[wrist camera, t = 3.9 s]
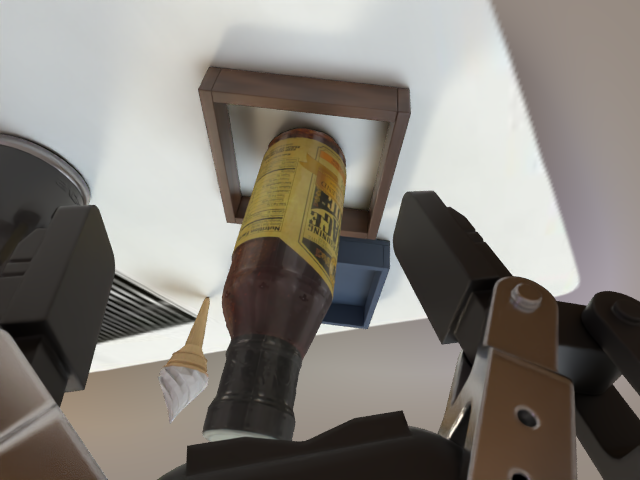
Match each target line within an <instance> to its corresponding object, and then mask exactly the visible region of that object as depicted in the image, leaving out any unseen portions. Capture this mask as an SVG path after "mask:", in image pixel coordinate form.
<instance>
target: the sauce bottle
mask: <svg viewBox="0 0 640 480" xmlns="http://www.w3.org/2000/svg"><path fill="white" fill-rule="evenodd" d="M345 162H346V161H345V157H344V155H343V152H342V150H341V149H340V147H339V146H338V144H336V143H335V141H334V140H333V139H332V138H331V137H330V136H329V135H327V134H325V133H324V132H317V131H315V130H311V129H307V128H297V129H292V130H288V131H286V132H284V133H281V134H280V135H279V136H277V137H275V138H274V139H273V140H272V141H271V142H270V144H269V146H268V151H267V152H266V153H265V155H264V157H263V160H262V163H261V166H260V170H259V173H258V176H257V179H256V182H255V185H254V188H253V192H252V195H251V198H250V201H249V204H248V207H247V210H246V213H245V216H244V220H243V223H242V226H241V229H240V232H239V235H238V238H237V241H236V245H235V248H234V251H233V254H232V264H231V267H230V270H229V273H228V276H227V280H226V282H225V286H224V289H223V295H222V308H223V314H224V317H225V321H226V327H227V328H228V330H229V334H230V336H231V342H230V345H229V347H228V349H227V351H226V363H225V367H224V370H223V373H222V376H221V380H220V384H219V388H218V391H217V395H216V397H215V398H214V400H213V401H212V403H211V404H210V406H209V407H208V412H207V415H206V419H205V423H204V427H203V436H204V437H205V438H206V439H208V440H209V441H211V442H214V441H220V440H226V439H232V438H238V437H244V436H245V437H256V438H266V439H276V440H286V441H292V437H293V432H294V427H295V417H294V412H293V406H294V401H295V396H296V387H297V382H298V375H299V371H300V368H301V364H302V360H303V358H304V356H305V354H306V353H307V351H308V349H309V347H310V345H311V343H312V341H313V339H314V337H315V335H316V333H317V331H318V329H319V327H320V325H321V323H322V321H323V319H324V317H325V315H326V313H327V311H328V309H329V307H330V305H331V303H332V300H333V291H334V285H335V275H336V265H337V257H338V250H339V240H340V231H341V224H342V213H343V203H344V195H345V186H346V169H345V167H346V163H345Z"/></svg>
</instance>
